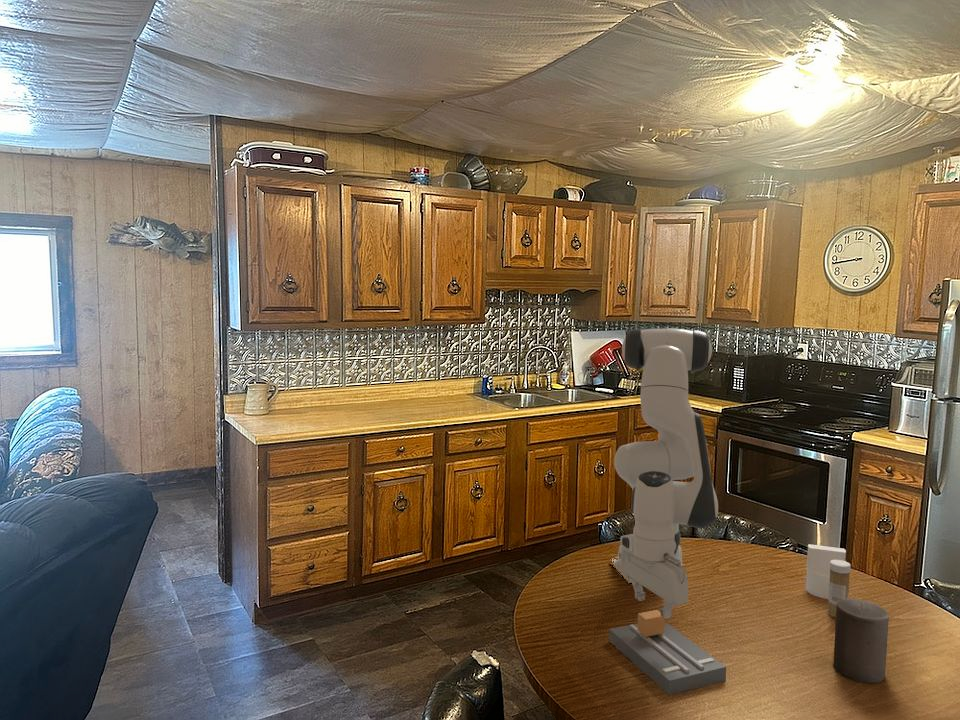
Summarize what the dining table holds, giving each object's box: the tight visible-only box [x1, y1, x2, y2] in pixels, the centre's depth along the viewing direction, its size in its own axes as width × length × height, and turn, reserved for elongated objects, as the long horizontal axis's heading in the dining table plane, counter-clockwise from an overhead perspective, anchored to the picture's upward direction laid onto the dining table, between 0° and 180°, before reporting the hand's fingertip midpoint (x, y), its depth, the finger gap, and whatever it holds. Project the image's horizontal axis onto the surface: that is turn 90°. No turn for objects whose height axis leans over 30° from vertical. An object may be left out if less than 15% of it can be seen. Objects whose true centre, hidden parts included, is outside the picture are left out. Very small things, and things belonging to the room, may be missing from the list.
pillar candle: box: [832, 598, 890, 684], centre depth 141 cm, size 10×10×15 cm
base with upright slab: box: [805, 543, 847, 600], centre depth 179 cm, size 9×9×12 cm
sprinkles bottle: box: [827, 560, 852, 619], centre depth 166 cm, size 5×5×13 cm
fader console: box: [608, 621, 727, 696], centre depth 145 cm, size 22×14×4 cm, turn 21°
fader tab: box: [637, 609, 666, 637], centre depth 149 cm, size 3×5×5 cm, turn 111°
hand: (652, 608), depth 148 cm, fingers open, 8 cm apart
